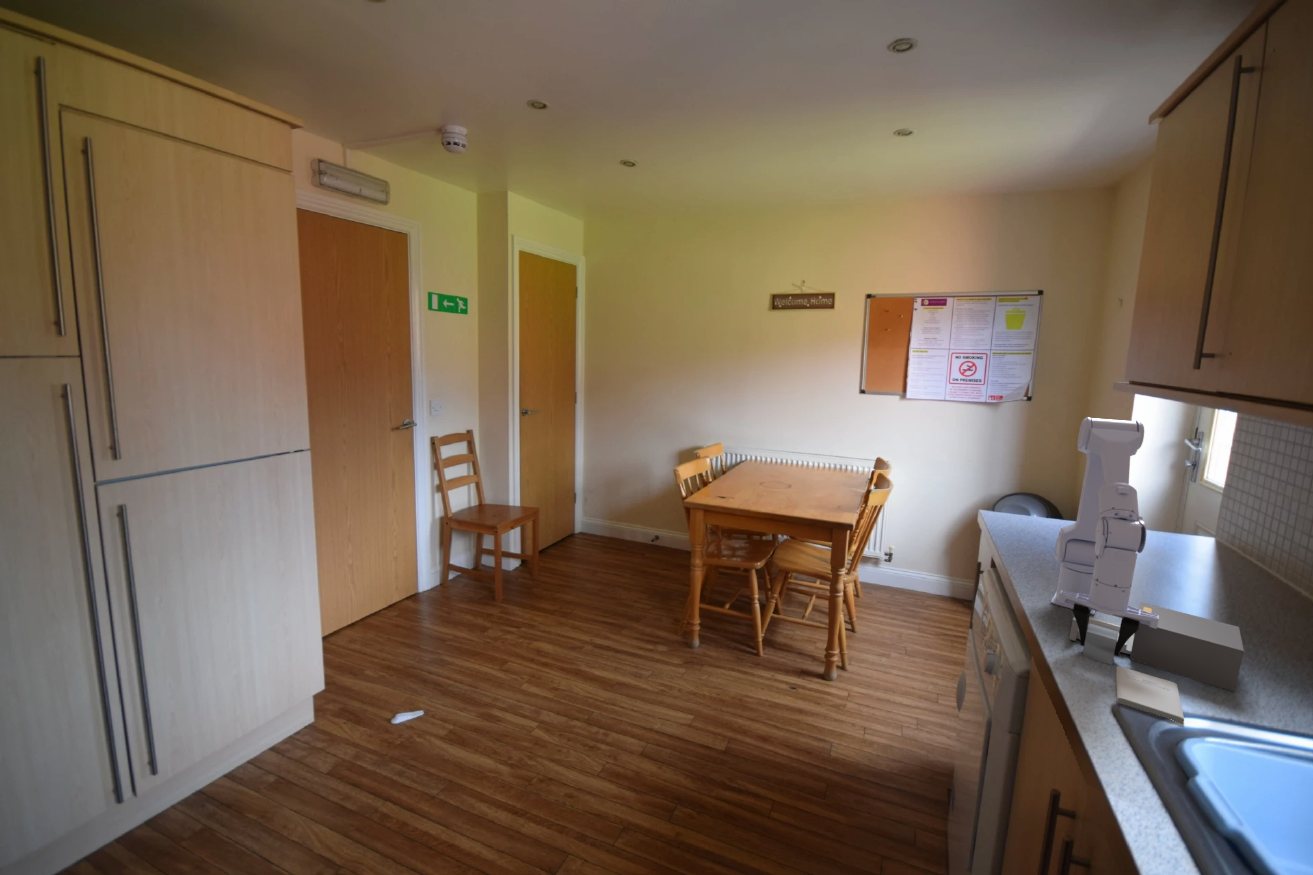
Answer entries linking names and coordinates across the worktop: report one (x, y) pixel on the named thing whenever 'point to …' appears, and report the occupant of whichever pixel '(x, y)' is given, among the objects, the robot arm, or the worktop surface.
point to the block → (1100, 644)
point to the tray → (1076, 634)
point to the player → (1190, 647)
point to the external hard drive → (1148, 694)
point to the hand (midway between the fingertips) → (1099, 648)
